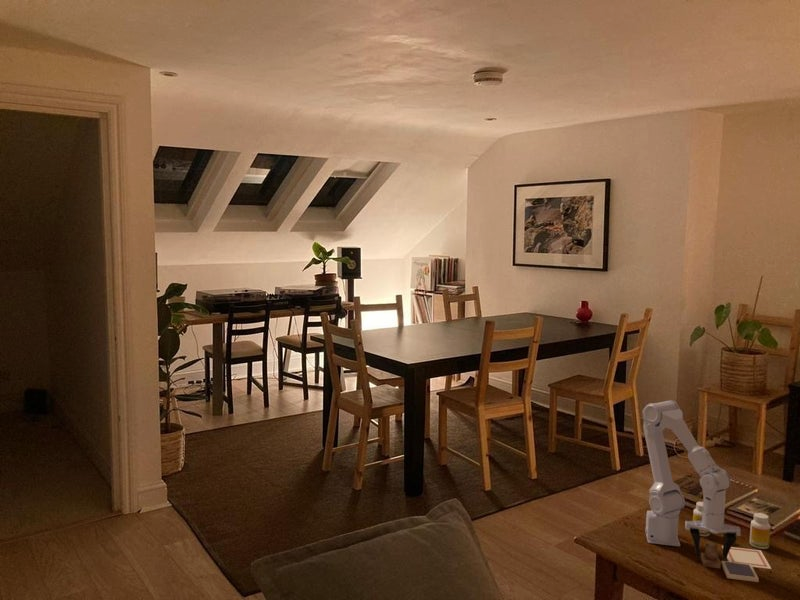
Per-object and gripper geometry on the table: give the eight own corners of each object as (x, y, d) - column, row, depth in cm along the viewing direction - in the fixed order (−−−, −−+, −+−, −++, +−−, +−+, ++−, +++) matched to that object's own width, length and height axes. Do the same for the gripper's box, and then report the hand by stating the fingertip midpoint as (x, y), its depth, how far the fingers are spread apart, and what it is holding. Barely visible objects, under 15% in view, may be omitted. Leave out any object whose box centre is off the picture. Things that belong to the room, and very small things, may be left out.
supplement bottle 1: (709, 538, 206) (711, 509, 205) (690, 534, 209) (692, 505, 208) (711, 531, 211) (713, 503, 210) (693, 527, 214) (695, 499, 213)
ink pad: (727, 578, 183) (727, 574, 183) (721, 563, 191) (721, 560, 191) (758, 582, 181) (758, 578, 181) (751, 567, 189) (751, 563, 189)
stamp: (703, 566, 190) (704, 547, 189) (700, 558, 194) (701, 539, 193) (720, 568, 188) (721, 549, 188) (716, 560, 193) (718, 541, 192)
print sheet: (729, 564, 191) (729, 563, 191) (721, 546, 201) (721, 545, 201) (771, 569, 188) (771, 568, 188) (761, 551, 198) (761, 550, 198)
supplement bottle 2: (771, 550, 199) (773, 520, 198) (752, 548, 200) (754, 518, 199) (765, 541, 204) (767, 512, 203) (747, 540, 205) (749, 511, 204)
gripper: (689, 513, 187) (686, 558, 189) (744, 519, 184) (741, 565, 185) (685, 503, 194) (682, 546, 196) (738, 509, 190) (735, 553, 192)
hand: (710, 554), depth 191 cm, fingers open, 7 cm apart
